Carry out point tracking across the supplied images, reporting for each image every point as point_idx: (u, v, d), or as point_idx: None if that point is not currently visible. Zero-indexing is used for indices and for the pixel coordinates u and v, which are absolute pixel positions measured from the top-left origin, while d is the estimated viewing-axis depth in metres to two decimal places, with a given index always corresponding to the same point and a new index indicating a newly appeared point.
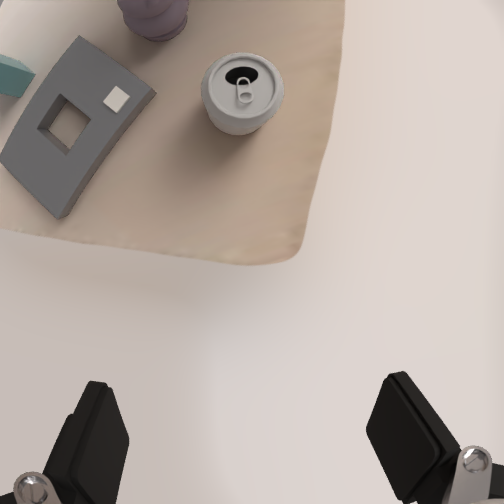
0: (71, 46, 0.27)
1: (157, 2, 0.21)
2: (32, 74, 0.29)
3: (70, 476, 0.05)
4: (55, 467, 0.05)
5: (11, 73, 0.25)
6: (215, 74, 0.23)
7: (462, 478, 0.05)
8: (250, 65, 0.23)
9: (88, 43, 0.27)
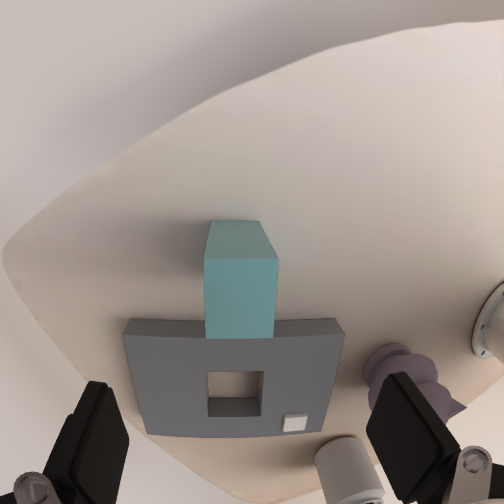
0: (327, 337, 0.27)
1: None
2: None
3: (70, 476, 0.05)
4: (55, 467, 0.05)
5: None
6: (359, 503, 0.25)
7: (462, 478, 0.05)
8: (374, 502, 0.26)
9: (338, 354, 0.27)
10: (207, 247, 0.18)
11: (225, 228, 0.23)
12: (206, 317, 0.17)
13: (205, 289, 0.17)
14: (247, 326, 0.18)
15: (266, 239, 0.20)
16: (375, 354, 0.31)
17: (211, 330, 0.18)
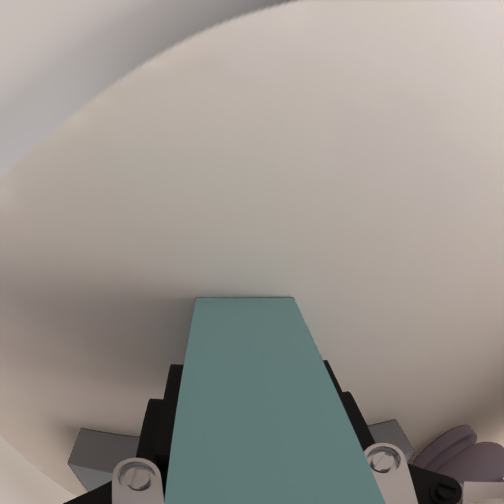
0: None
1: None
2: None
3: None
4: (160, 448, 0.06)
5: None
6: None
7: None
8: None
9: None
10: (174, 463, 0.05)
11: (225, 335, 0.10)
12: None
13: None
14: None
15: (333, 394, 0.07)
16: (435, 444, 0.18)
17: None
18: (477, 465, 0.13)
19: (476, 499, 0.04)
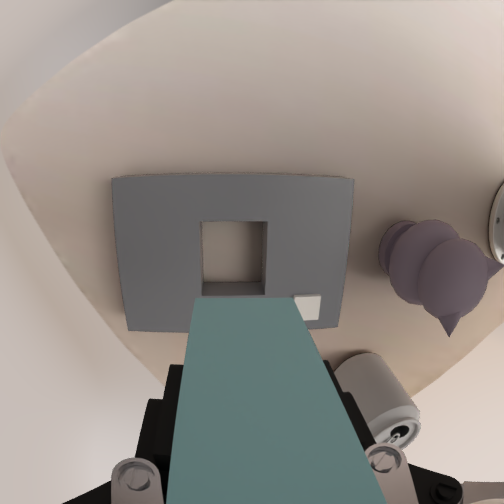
0: (335, 181, 0.24)
1: None
2: None
3: None
4: (159, 448, 0.06)
5: None
6: None
7: None
8: (410, 428, 0.24)
9: (350, 206, 0.25)
10: (175, 464, 0.05)
11: (224, 336, 0.10)
12: None
13: None
14: None
15: (333, 395, 0.07)
16: (390, 230, 0.29)
17: None
18: (425, 224, 0.24)
19: (477, 499, 0.04)
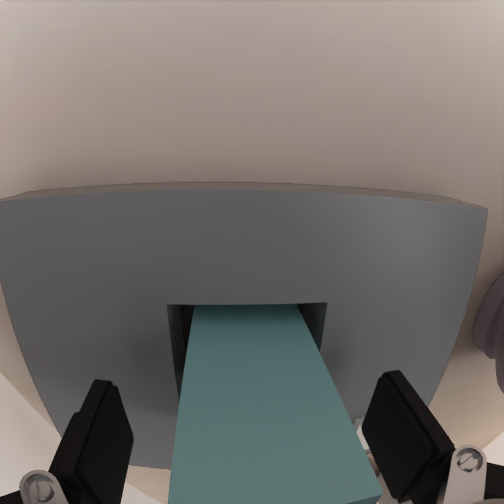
0: (462, 212, 0.10)
1: None
2: None
3: (77, 474, 0.05)
4: (62, 465, 0.05)
5: None
6: None
7: (456, 477, 0.05)
8: None
9: (476, 261, 0.11)
10: (180, 434, 0.06)
11: (225, 322, 0.11)
12: None
13: None
14: None
15: (325, 375, 0.08)
16: (496, 286, 0.15)
17: None
18: None
19: None
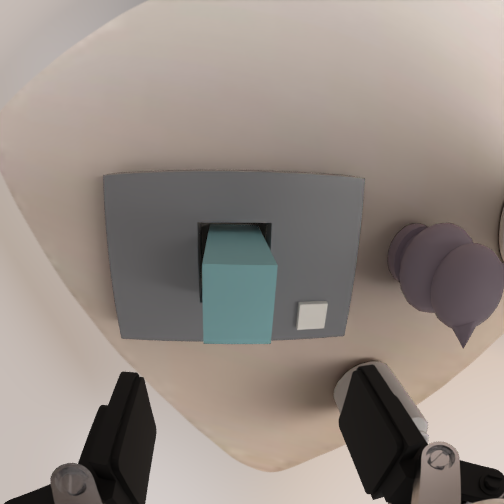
0: (344, 180, 0.22)
1: None
2: None
3: (110, 464, 0.05)
4: (95, 456, 0.05)
5: None
6: None
7: (429, 477, 0.05)
8: None
9: (360, 207, 0.23)
10: (206, 252, 0.18)
11: (224, 232, 0.23)
12: (204, 322, 0.17)
13: (203, 294, 0.17)
14: (245, 332, 0.18)
15: (265, 244, 0.20)
16: (400, 233, 0.27)
17: (209, 335, 0.18)
18: (438, 228, 0.22)
19: None
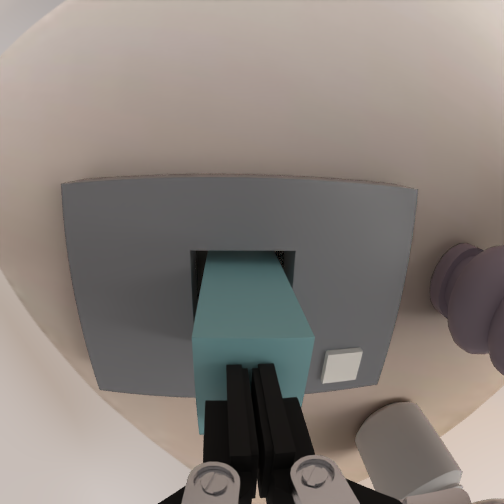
0: (393, 191, 0.16)
1: None
2: None
3: (250, 455, 0.06)
4: (235, 449, 0.06)
5: None
6: None
7: (312, 499, 0.05)
8: None
9: (411, 228, 0.16)
10: (199, 307, 0.11)
11: (227, 263, 0.16)
12: (199, 412, 0.11)
13: (196, 379, 0.10)
14: None
15: (289, 288, 0.14)
16: (446, 256, 0.20)
17: None
18: (498, 253, 0.16)
19: None
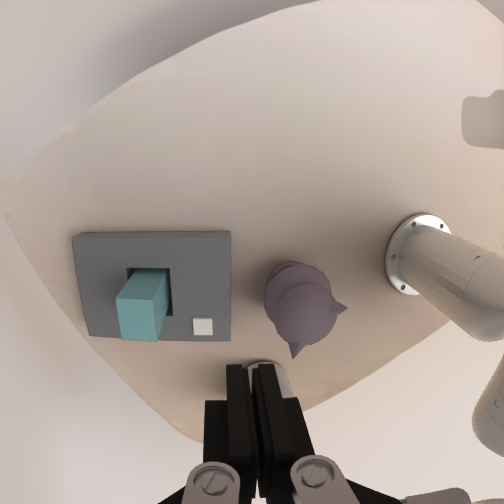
0: (215, 239, 0.35)
1: None
2: (168, 303, 0.40)
3: (250, 454, 0.06)
4: (235, 449, 0.06)
5: None
6: None
7: (312, 499, 0.05)
8: None
9: (229, 256, 0.36)
10: (122, 290, 0.31)
11: (142, 273, 0.36)
12: (120, 328, 0.30)
13: (118, 313, 0.30)
14: (142, 334, 0.31)
15: (158, 284, 0.33)
16: (274, 269, 0.40)
17: (124, 335, 0.30)
18: (290, 270, 0.35)
19: None
